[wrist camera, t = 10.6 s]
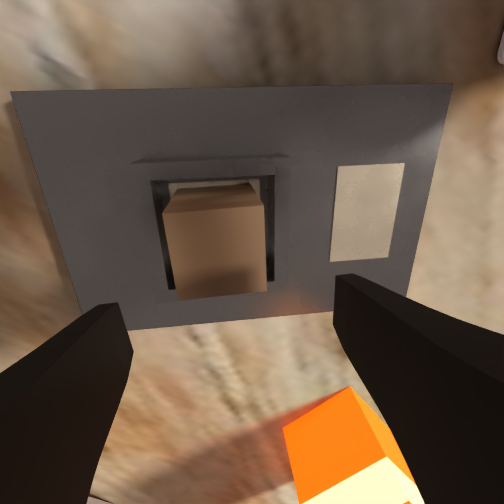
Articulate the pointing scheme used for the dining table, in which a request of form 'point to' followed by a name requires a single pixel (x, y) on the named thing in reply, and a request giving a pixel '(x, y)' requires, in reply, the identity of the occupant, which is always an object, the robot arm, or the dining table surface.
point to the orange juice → (347, 456)
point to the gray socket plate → (236, 172)
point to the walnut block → (216, 241)
